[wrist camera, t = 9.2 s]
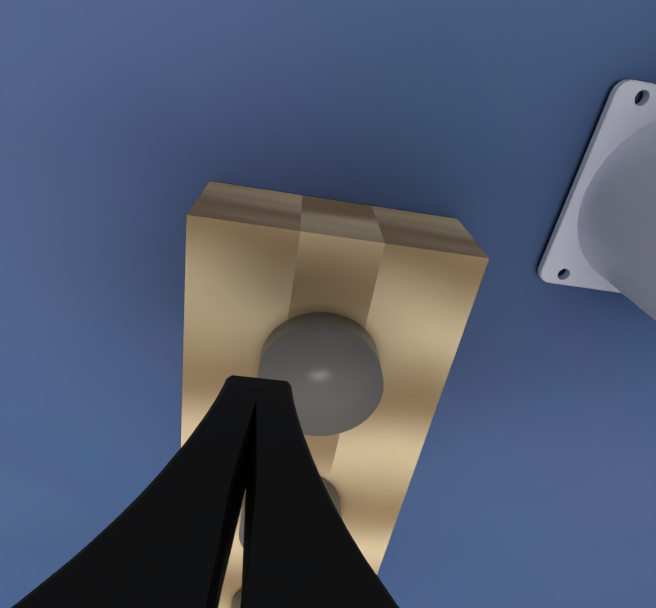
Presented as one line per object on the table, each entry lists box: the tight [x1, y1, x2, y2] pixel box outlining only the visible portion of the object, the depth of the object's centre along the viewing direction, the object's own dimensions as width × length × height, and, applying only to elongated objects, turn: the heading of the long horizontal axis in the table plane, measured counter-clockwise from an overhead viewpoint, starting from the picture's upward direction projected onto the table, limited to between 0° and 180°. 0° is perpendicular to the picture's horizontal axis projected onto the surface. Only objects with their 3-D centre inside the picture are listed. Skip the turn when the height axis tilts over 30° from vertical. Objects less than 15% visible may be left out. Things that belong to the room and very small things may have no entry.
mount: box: [181, 181, 489, 608], centre depth 24 cm, size 26×10×4 cm, turn 171°
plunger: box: [257, 312, 384, 436], centre depth 19 cm, size 4×4×5 cm
